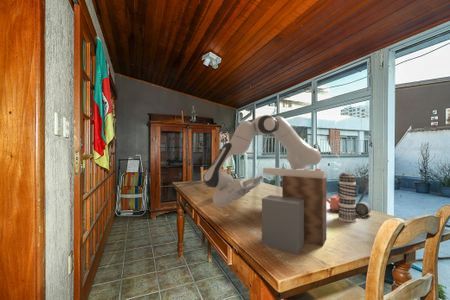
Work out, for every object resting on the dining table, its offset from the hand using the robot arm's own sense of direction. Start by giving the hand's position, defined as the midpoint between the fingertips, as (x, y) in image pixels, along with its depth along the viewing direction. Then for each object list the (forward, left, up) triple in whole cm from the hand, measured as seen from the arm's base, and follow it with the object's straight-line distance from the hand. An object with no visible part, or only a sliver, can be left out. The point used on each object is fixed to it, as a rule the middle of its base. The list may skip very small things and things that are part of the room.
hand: (258, 178), depth 100 cm
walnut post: (+19, +11, -24) cm, 32 cm away
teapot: (-4, +61, -24) cm, 66 cm away
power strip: (+14, +8, +2) cm, 17 cm away
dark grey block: (+20, -2, -24) cm, 31 cm away
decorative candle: (+10, +50, -24) cm, 57 cm away
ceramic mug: (+8, +65, -24) cm, 70 cm away
